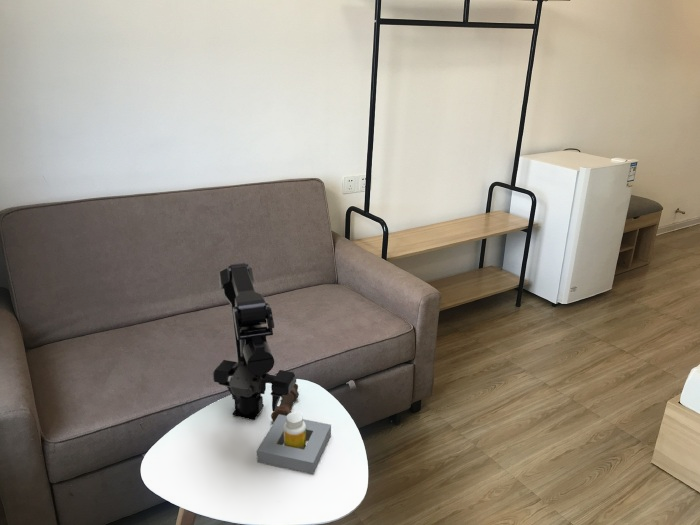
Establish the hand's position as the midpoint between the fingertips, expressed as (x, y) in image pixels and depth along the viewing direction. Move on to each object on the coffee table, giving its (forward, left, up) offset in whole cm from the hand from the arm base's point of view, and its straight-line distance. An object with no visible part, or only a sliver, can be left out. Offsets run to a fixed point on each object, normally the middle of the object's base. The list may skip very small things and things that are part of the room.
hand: (256, 406), depth 137 cm
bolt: (+1, +17, -12) cm, 21 cm away
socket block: (+9, +2, -12) cm, 15 cm away
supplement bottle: (+9, +2, -12) cm, 15 cm away
